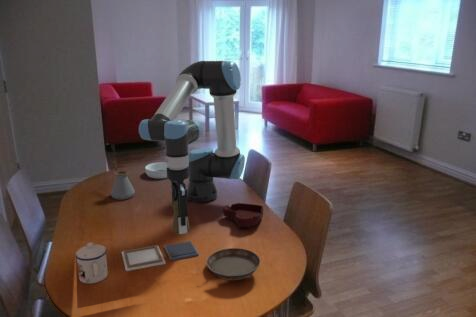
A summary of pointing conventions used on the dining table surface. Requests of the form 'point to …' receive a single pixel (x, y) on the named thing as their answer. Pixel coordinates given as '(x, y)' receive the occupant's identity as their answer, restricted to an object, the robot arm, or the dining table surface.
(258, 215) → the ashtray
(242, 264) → the plant saucer
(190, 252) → the ink pad
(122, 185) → the coffee pot
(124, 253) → the board
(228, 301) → the dining table surface
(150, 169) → the cereal bowl
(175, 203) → the olive knob handle
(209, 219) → the dining table surface
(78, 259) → the teacup with lid
